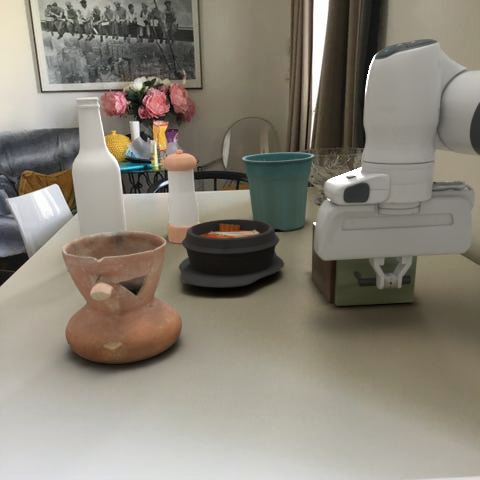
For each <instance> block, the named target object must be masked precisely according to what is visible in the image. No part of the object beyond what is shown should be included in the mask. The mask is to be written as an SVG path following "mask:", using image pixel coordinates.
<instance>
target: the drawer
mask: <svg viewBox="0 0 480 480" xmlns="http://www.w3.org/2000/svg"><path fill="white" fill-rule="evenodd" d="M396 258H397V257H386V258H384V265H380V268H381V269H382V271H383V273H393V272H394V270H395V268H396V267H397V265H398V264H399V261H398V260H397V259H396ZM417 261H418V256H412V264H411V266H410V267H409V269H408V270H407V271H406V273H405V274H404V276H402V285H401V288H392V289H390V288H389V289H378V288H377V286H376V277H377V274H376V273H375V271H374V269H373V267H372V266H371V264H370V262H369V258H366V259H347V260H336V280H335V303H334V304H335V306H336V307H342V306H343V307H345V306H360V305H361V306H362V305H363V306H364V305H380V304H381V305H383V304H398V303H399V304H401V303H403V304H404V303H413V302H414V296H415V295H414V294H415V284H416V272H417Z"/></svg>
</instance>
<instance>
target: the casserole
mask: <svg viewBox="0 0 480 480" xmlns="http://www.w3.org/2000/svg"><path fill="white" fill-rule="evenodd" d="M279 242H280V237H279V236H278V235H277V234H276V233H275V230H274V229H273V226H271V225H270V224H267V223H264V222H260V221H254V220H253V219H238V218H237V219H236V218H235V219H233V218H232V219H218V220H209V221H205V222H200V224H197V225H194V226H192V227H190V228H189V229H188V230H187V234H186V237H185V239H184V240H183V241H182V243H181V245H182V247H184V248H185V250H186V253H187V257H186V258H185V259H183V260H182V261H181V262H180V263H179V264H178V269H179V271H180V273H181V275H180V276H181V278H180V279H181V281H182V282H183V283H185V284H186V285H191V286H194V287H202V288H212V289H227V288H228V289H231V288H241V287H246V286H248V285H251V284H253V283H255V282H256V281H258V280H260V279H263V278H265V277H269V276H271V275H274V274H276V273H277V272H279V271H280V270H282V268H283V267H285V266H284V265H285V262H284V260H283V259H282V257H280V256H279V255H278V254H277V252H276V246H277V245H278V244H279Z"/></svg>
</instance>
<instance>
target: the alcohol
mask: <svg viewBox="0 0 480 480" xmlns="http://www.w3.org/2000/svg"><path fill="white" fill-rule="evenodd" d="M75 101H76V109H77V113H78V114H77V117H78V119H77V120H78V134H79V135H78V136H79V151H78V154H76V157H75V158H74V160H73V162H72V166H71V176H72V184H73V190H74V197H75V205H76V212H77V213H76V214H77V220H78V227H79V234H80V237H83V236H87V235H93V234H97V233H102V232H105V233H107V232H115V231H128V230H127V229H128V228H127V220H126V219H127V218H126V210H125V202H124V191H123V183H122V174H121V167H120V165H119V161H118V159H116V157H115V156H114V155H113V154H112V153H111V152H110V150H109V148H108V146H107V142H106V137H105V133H104V132H105V131H104V127H103V122H102V117H101V111H100V107H101V105H100V103H99V101H100V98H99V97H98V96H86V97H85V96H84V97H76V99H75Z"/></svg>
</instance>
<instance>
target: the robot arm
mask: <svg viewBox="0 0 480 480" xmlns="http://www.w3.org/2000/svg"><path fill="white" fill-rule="evenodd" d="M368 69H369V70H368V74H367V78H366V84H365V92H364V107H363V120H362V121H363V129H364V133H365V143H364V148H363V151H362V153H361V162H360V167H358V168H357V169H354V170H352V171H348V172H346V173H343V174H341V175H338V176H335V177H332V178H330V179H328V180H326V181H325V182H324V184H323V194H324V196H325V197H326V198H327V199H325V200H323V202H322V203H321V204H320V206H319V207H318V210H317V214H316V219H315V223H316V224H315V232H314V250H315V252H316V253H317V255H318V256H319V257H320V258H321V259H322V260H325V261H327V260H347V259H366V258H369V262H370V264H371V266H372V267H373V269H374V271H375V273H376V274H377V277H376V286H377V288H378V289H389V288H390V289H392V288H401V285H402V276H404V274H405V273H406V271H407V270H408V269H409V267H410V266H411V264H412V256H417V257H419V256H420V257H423V256H424V257H425V256H443V255H445V256H446V255H463V254H465V253H466V252H467V251H468V250H469V249H470V247H471V245H472V237H473V220H472V211H473V209H474V206H475V198H476V193H475V189H474V188H473V187H472V186H471V185H470V184H467V183H466V182H465V181H464V180H454V181H434V176H435V165H436V162H435V161H436V151H437V150H439V151H444V152H446V151H447V152H451V153H456V154H462V155H469V156H477V157H480V69H479V70H477V69H469V68H468V67H466V66H463V65H461V64H459V63H458V62H457V61H455V60H453V59H452V58H450V57H449V56H448V55H447V54H446V53H445V52H444V51H443V49H442V48H441V43H440V42H439V41H438V40H435V39H433V38H432V39H431V38H425V39H424V38H422V39H416V40H412V41H407V42H401V43H396V44H392V45H389V46H386V47H384V48H382V49H380V50H379V51H377V53H376V54H375V55H374V56H373V58H372V60H371V63H370V65H369V68H368ZM386 257H397V258H396V259H397V260H398V261H399V264H398V265H397V267H396V268H395V270H394V272H393V273H383V271H382V269H381V268H380V265H384V258H386Z"/></svg>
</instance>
